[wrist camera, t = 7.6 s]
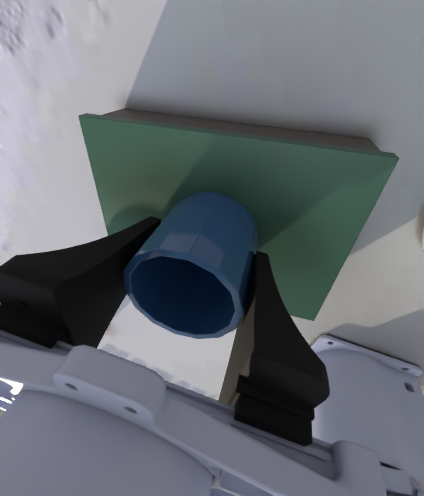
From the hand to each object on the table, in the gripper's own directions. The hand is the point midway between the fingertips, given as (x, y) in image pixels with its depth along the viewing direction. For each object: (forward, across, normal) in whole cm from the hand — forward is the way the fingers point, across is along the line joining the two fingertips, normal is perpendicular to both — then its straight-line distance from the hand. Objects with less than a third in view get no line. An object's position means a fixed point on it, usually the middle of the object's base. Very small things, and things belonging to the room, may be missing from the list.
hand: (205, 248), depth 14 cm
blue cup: (+2, 0, 0) cm, 2 cm away
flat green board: (+6, 0, 0) cm, 6 cm away
